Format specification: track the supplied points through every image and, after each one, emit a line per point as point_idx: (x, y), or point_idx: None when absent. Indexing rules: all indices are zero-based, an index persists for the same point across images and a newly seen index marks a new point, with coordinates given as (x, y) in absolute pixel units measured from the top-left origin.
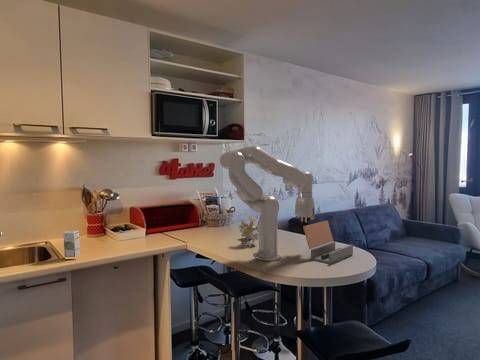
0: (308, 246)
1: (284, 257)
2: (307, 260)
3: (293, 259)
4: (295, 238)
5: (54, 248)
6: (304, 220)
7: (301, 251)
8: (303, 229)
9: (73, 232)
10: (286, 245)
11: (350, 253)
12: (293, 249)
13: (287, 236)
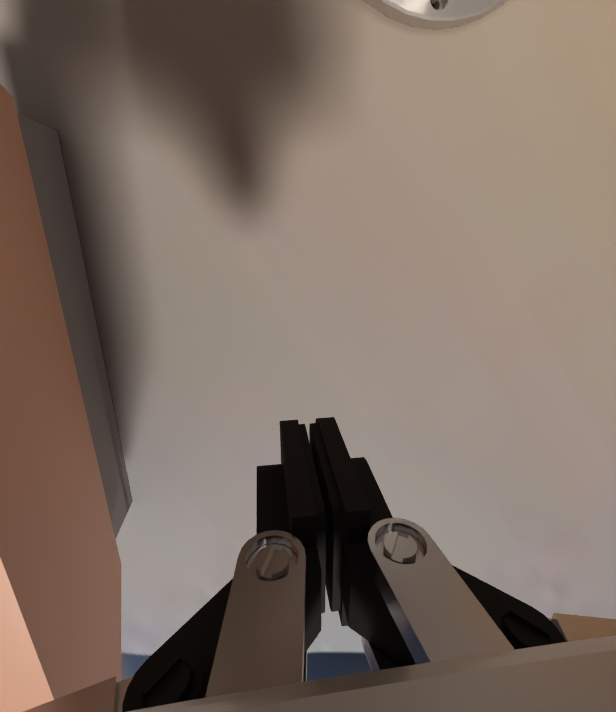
0: (1, 86)
1: (310, 9)
2: (60, 79)
3: (189, 4)
4: (542, 571)
5: None
6: (364, 605)
7: (313, 323)
8: (316, 421)
9: None
10: (511, 391)
11: None
12: (402, 330)
13: (611, 574)
